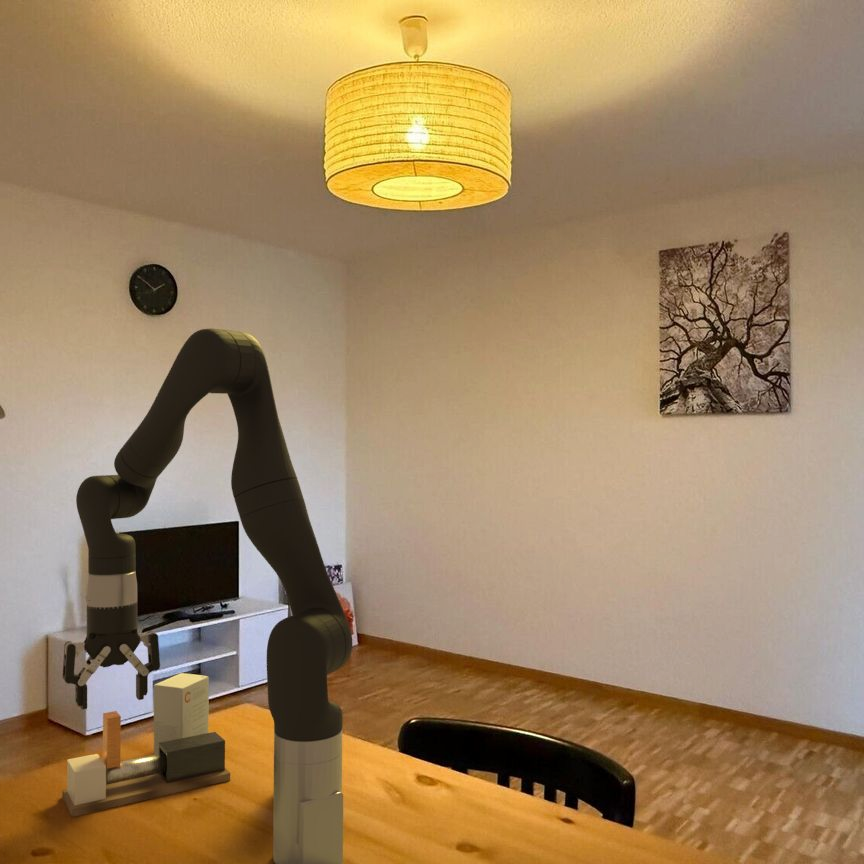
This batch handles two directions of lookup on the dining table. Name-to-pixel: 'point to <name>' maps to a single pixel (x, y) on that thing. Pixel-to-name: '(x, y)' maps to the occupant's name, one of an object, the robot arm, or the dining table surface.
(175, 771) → the dark hollow rectangular block
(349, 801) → the dining table surface
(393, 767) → the dining table surface
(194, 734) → the small box
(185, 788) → the walnut board
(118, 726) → the sliding bolt
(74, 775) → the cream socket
